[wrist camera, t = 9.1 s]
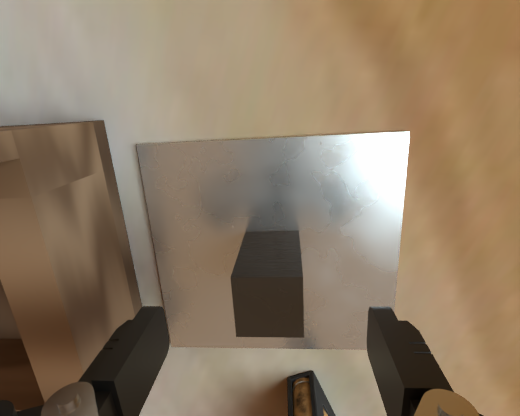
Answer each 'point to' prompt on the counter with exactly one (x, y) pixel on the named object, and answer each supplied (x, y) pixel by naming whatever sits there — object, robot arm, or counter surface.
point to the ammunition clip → (307, 396)
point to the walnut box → (59, 257)
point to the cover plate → (277, 198)
